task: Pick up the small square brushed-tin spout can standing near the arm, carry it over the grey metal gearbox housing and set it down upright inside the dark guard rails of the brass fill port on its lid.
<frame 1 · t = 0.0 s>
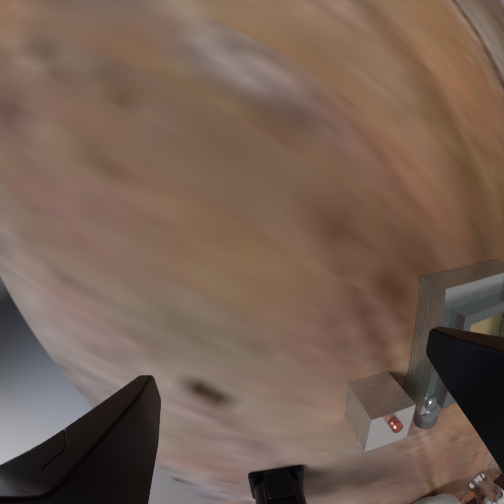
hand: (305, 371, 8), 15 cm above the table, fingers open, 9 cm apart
gearbox: (454, 328, 26), on the table
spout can: (365, 393, 26), on the table
beer glass: (475, 478, 39), on the table
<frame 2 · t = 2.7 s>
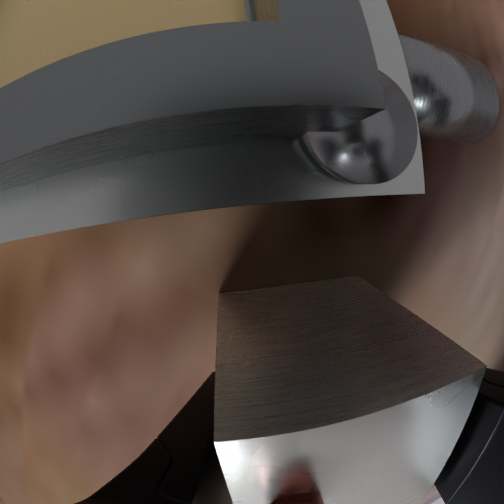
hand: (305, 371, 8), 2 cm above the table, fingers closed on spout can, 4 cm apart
gearbox: (113, 41, 7), on the table
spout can: (294, 346, 10), on the table, touching gripper
when the fingers open (7 cm above the table, at t = 6.2 s): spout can drops 1 cm, resting on gearbox.
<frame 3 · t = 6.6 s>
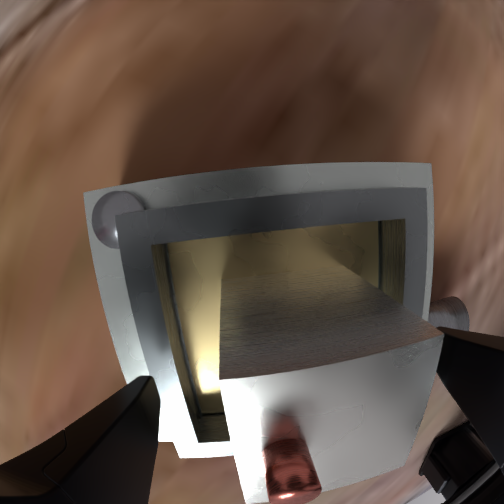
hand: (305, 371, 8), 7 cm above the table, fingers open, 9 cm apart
gearbox: (269, 292, 15), on the table
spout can: (287, 328, 11), point 4 cm above the table, touching gearbox
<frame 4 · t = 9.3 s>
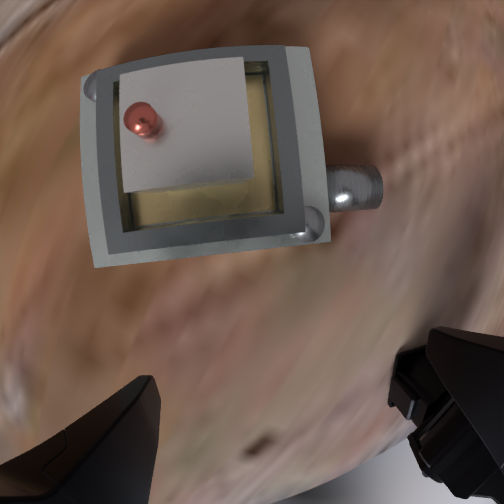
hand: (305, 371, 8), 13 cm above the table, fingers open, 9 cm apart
gearbox: (202, 155, 19), on the table
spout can: (197, 146, 15), point 4 cm above the table, touching gearbox
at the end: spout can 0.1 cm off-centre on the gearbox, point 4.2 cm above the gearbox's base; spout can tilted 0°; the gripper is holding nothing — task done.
